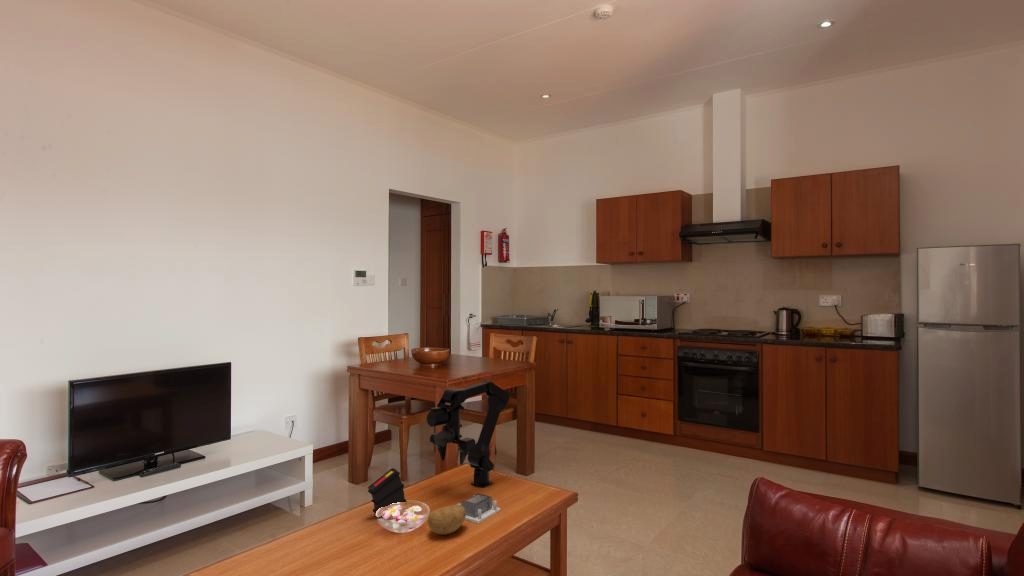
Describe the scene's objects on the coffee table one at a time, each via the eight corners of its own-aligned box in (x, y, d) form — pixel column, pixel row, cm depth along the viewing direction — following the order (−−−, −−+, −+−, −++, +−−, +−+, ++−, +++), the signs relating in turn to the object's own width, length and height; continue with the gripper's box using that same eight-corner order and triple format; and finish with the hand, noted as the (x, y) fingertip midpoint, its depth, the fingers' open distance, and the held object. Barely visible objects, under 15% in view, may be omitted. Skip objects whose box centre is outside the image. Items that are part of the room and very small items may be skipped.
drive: (478, 504, 192) (478, 492, 192) (492, 508, 188) (492, 496, 188) (461, 513, 183) (461, 501, 183) (474, 517, 180) (475, 505, 180)
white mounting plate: (475, 503, 194) (475, 493, 194) (500, 510, 188) (500, 499, 188) (453, 515, 183) (453, 504, 183) (478, 523, 177) (478, 512, 177)
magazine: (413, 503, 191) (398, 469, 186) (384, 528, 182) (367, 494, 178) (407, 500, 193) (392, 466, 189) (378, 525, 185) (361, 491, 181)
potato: (473, 529, 173) (473, 505, 173) (439, 544, 163) (439, 518, 163) (455, 520, 179) (455, 497, 180) (420, 534, 169) (421, 509, 170)
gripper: (420, 423, 203) (419, 463, 202) (457, 430, 192) (457, 473, 192) (439, 417, 212) (439, 456, 212) (476, 423, 202) (476, 464, 201)
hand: (452, 462), depth 204 cm, fingers open, 9 cm apart
